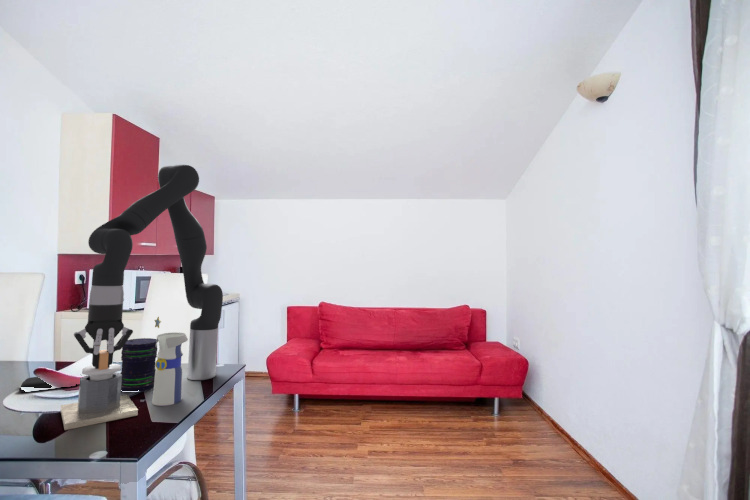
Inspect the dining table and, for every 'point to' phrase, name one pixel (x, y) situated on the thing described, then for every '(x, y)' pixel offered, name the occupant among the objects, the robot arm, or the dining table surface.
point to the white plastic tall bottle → (168, 368)
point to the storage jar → (138, 364)
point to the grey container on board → (98, 403)
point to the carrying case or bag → (34, 383)
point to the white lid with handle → (101, 368)
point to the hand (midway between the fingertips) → (101, 367)
